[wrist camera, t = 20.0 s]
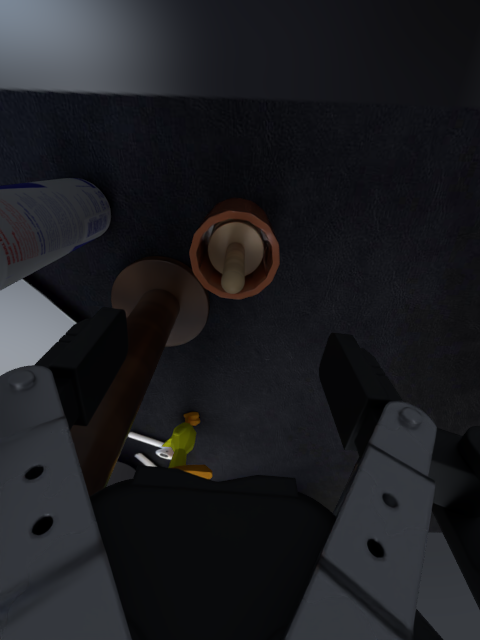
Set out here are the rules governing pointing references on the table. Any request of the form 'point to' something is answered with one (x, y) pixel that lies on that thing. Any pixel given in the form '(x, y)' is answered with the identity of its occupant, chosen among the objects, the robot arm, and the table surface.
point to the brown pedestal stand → (139, 354)
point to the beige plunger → (235, 251)
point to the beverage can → (47, 223)
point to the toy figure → (186, 446)
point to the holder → (199, 246)
